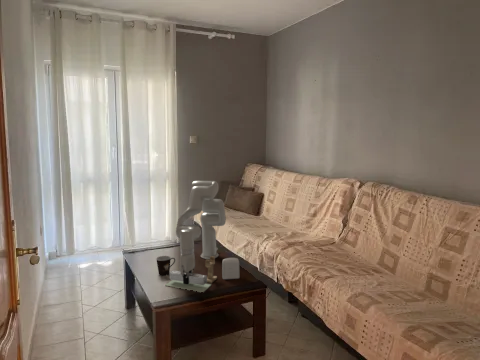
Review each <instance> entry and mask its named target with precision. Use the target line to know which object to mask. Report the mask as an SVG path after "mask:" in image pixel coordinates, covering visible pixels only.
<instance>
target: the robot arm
mask: <svg viewBox="0 0 480 360" xmlns="http://www.w3.org/2000/svg"><path fill="white" fill-rule="evenodd" d="M219 186H220V185H219V183H218V182H217V181H216V180H194V181H192V183H191V189H190V194H189V197H188V198H189V199H188V203H187V208H186V209H185V210H184V211H183V212H182V213H181V215H180V216H179V217H178V218H177V222H176V228H175V236H176V238H178V239H179V246H180V247H179V248H180V250H179V251H180V256H179V262H178V263H179V266H178V269H179V270H178V271H180V272H181V273H180V275H182V276H183V284H189V277H188V273H194V269H195V267H196V259H195V244H194V243H195V242H194V241H195V240H197V239H199V238H200V237H201V238H202V239H201V241H202V243H201V244H202V245H201V246H202V252H201V254H200V257H201V258H202V259H205V260H206V259H207V260H210V257H211V256H214V257H215V259H216V258H218V257H219V253H218V252H217V251H218V250H219V248H218V246H217V232H216V229H215V227H223V226H224V225H225V224H226V220H227V218H226V210H225V209H226V208H225V202H224V200H222V199H221V198H215V197H216V196H217V194H218V192H219V190H220V189H219V188H220V187H219ZM201 212H202V213H201ZM200 213H201V214H200ZM199 214H200V224H201V227H200V226H198V225H189V224H188V225H187V224H185V222H186V221H187V220H188V219H190V218H191V217H194V216H196V215H199ZM201 235H202V236H201ZM185 273H186V274H185Z"/></svg>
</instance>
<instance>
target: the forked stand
mask: <svg viewBox="0 0 480 360" xmlns="http://www.w3.org/2000/svg"><path fill="white" fill-rule="evenodd" d="M204 263H205V268H207V283H209V284H212V283H214V282H215V281H216V280H217V279H218V276H217V275H214V265H215V264H216V258H215V257H214V256H211V257H210V259H205V261H204Z"/></svg>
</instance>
